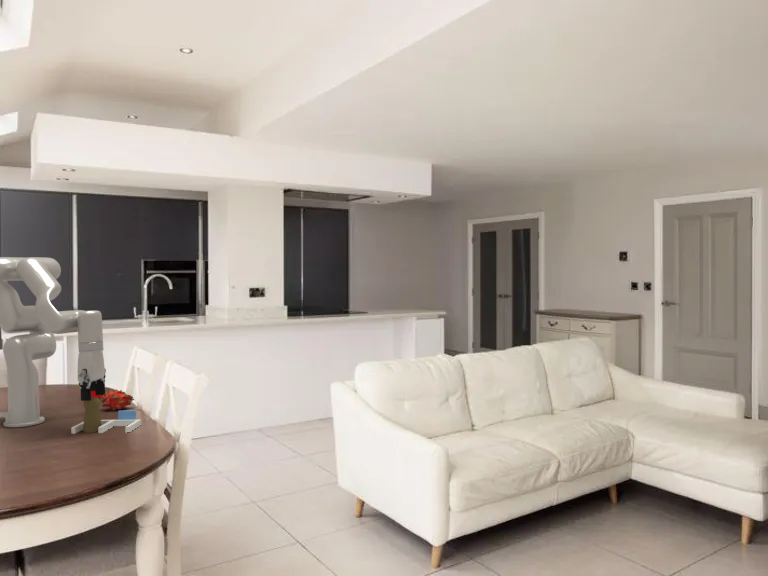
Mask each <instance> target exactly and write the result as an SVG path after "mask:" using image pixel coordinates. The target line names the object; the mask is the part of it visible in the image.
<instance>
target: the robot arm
mask: <svg viewBox="0 0 768 576" xmlns="http://www.w3.org/2000/svg"><path fill="white" fill-rule="evenodd" d="M61 272H62V268H61V265H60V263H59V262H58V260H56V259H55V258H51V257H41V256H40V257H38V256H36V257H35V256H34V257H33V256H30V257H20V256H19V257H15V256H12V257H11V256H0V329H1V330H2V331H3V332H4V333H7V334H18V333H19V335H14V336H11V337H9V338H7V339H6V340H5V341H4V343H3V346H2V351H3V352H2V354H3V357H4V360H5V367H6V380H7V404H8V405H7V407H8V409H7V410H8V411H3V412H2V411H0V419H5V421H4V422H3V426H4V427H5V428H24V427H31V426H36V425H41V424H42V423H44V422H45V421H46V420H45V419H46V418H45V416H40V386H39V384H40V382H39V381H40V380H39V372H38V371H39V370H38V369H37V367H36V365H35V364H34V362H33V361H35V360H36V361H37V360H42V359H43V360H44V359H46V358H47V359H48V358H51V357H52V356H53V355H54V354H55V353H56V350H57V341H56V337H55V335H60V334H61V335H62V334H63V335H64V334H69V333H77V341H78V342H77V343H78V356H77V381H78V386H79V389H80V400H81V401H82V402H84V401H90V400H91V388H90V385H91V382H93V381H96V383H95V394H96V395H105V393H106V377H107V376H106V374H107V369H106V368H105V367H106V366H105V359H104V354H103V351H104V336H103V316H102V312H101V311H100V310H83V309H78V310H77V309H74V310H62V311H60V310H59V311H58V309H57V308H55V306H54V305H53V304H52V302H51V301H53V300H55V299H56V298H57V297H58V296H59V295H60V294H61V292H62V285H61V284H60V283H59V281H58V279H59V277H60V276H61ZM9 281H10V282H11V281H13V282H14V281H15V282H16V281H18V282H19V281H22V282H24V285H26V286H27V287H28V289H29V290H30V291H31V293H32V294H33V295H34V297H35V298H36V301H35V305H24V304H23V303H22V301H21V298H20V295H19V293H18V292H17V290H16V289H15V288H14V287H13V286H12V285H11V284H9V283H8V282H9ZM20 333H24V334H20ZM25 333H26V334H25ZM86 383H87V384H86Z"/></svg>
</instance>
